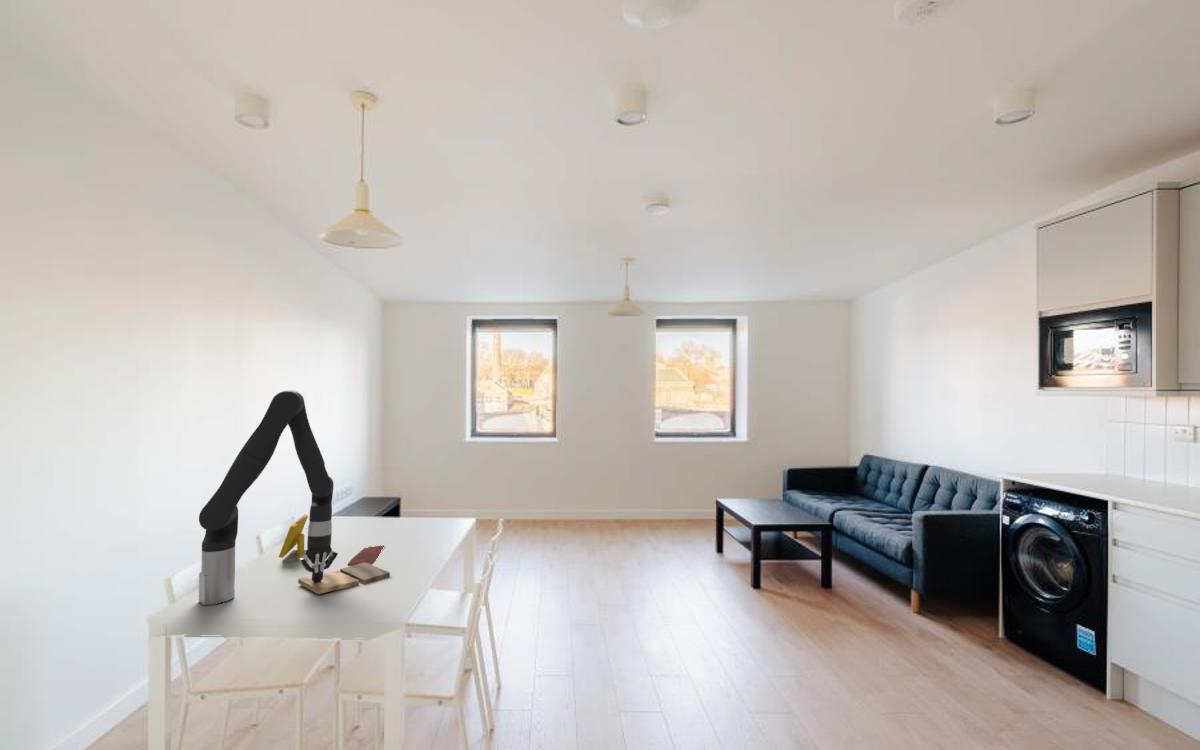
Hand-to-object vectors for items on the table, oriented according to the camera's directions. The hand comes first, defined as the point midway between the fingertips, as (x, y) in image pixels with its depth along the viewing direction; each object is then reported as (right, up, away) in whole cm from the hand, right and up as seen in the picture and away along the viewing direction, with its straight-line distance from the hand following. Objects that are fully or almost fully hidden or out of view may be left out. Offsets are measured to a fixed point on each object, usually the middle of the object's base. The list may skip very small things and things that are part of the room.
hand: (317, 582), depth 189 cm
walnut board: (+11, -3, +14) cm, 18 cm away
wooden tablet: (+2, -4, +37) cm, 37 cm away
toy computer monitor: (-27, -3, +35) cm, 44 cm away
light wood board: (+2, -2, +3) cm, 4 cm away
